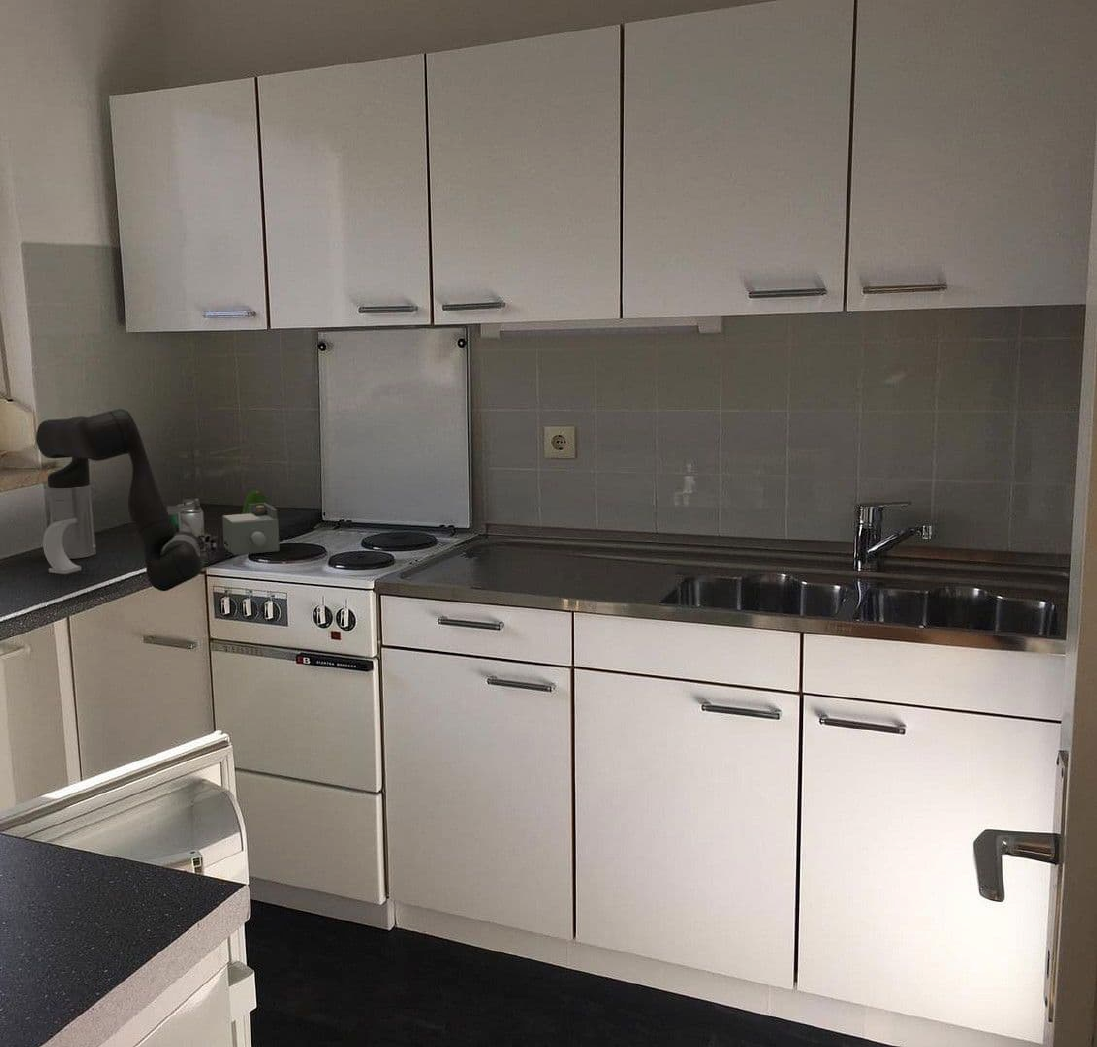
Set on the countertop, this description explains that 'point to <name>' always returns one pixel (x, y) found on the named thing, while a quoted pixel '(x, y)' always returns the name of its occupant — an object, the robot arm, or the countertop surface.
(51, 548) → the headphone stand
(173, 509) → the food container
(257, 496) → the avocado
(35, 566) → the countertop surface
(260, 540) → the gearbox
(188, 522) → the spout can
